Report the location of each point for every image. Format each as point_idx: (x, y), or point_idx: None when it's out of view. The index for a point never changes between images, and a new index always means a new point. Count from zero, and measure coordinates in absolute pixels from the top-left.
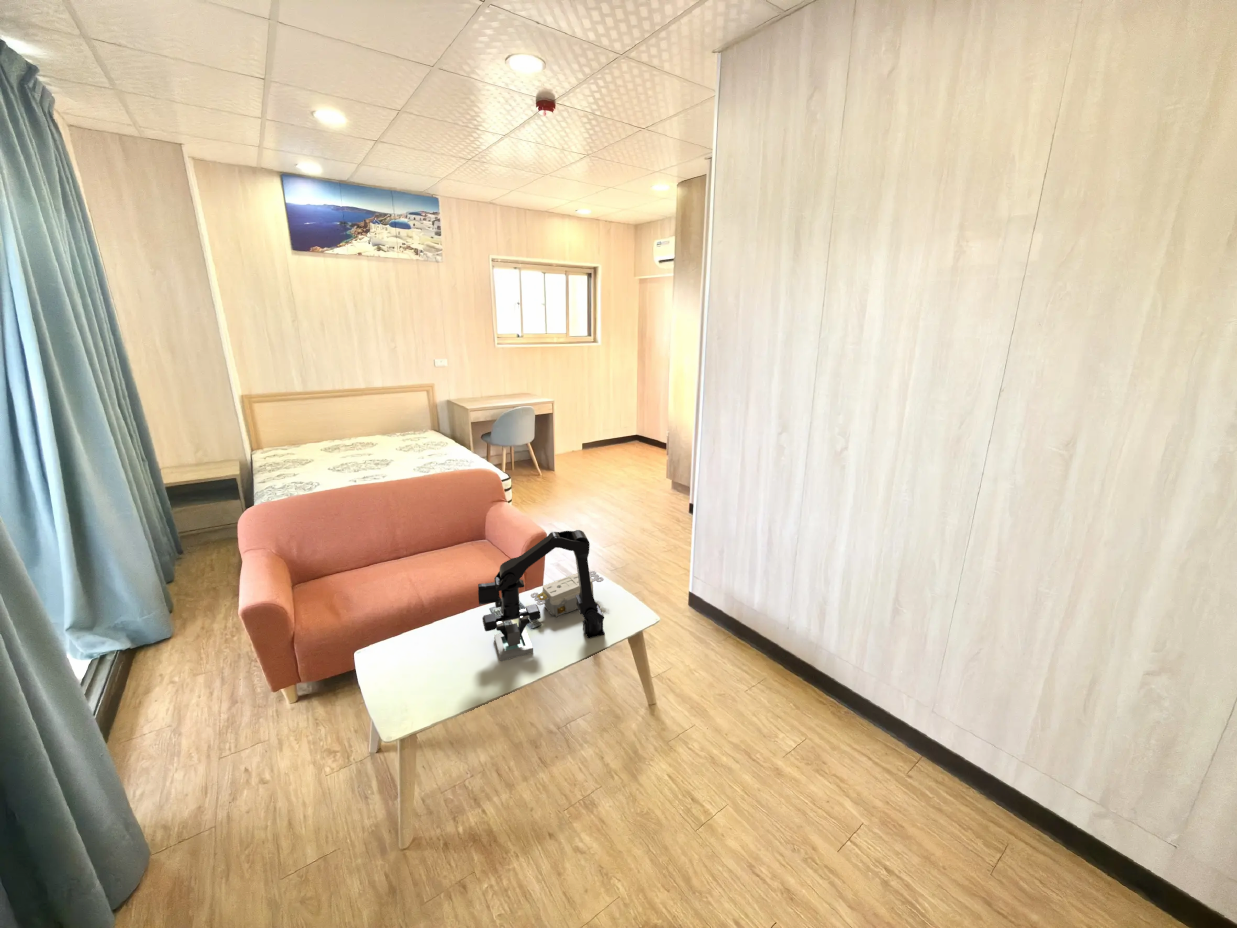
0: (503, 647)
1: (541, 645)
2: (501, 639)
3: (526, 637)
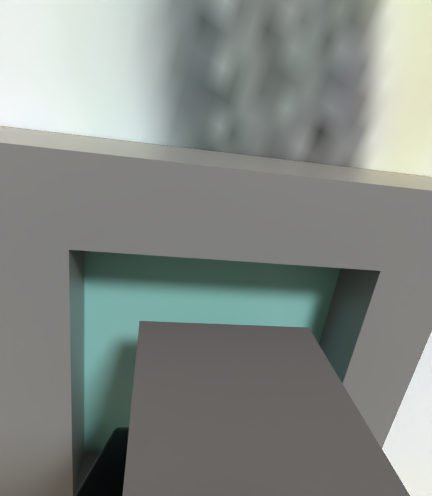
0: (64, 458)
1: (425, 426)
2: (66, 314)
3: (378, 393)
